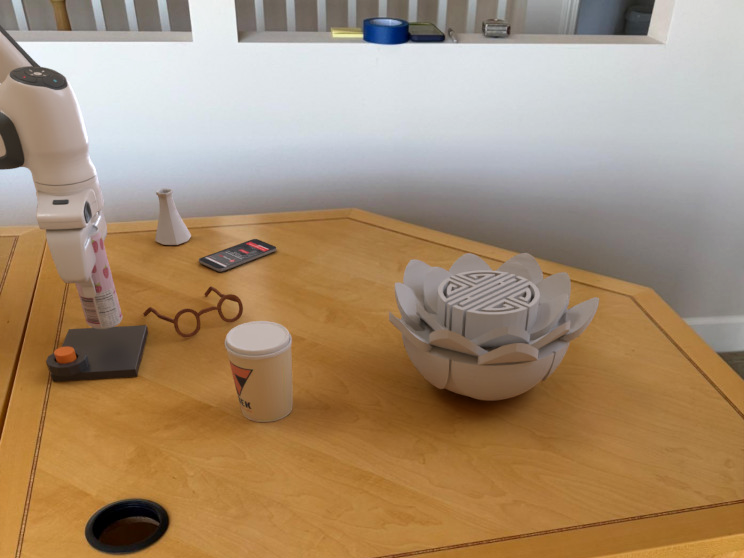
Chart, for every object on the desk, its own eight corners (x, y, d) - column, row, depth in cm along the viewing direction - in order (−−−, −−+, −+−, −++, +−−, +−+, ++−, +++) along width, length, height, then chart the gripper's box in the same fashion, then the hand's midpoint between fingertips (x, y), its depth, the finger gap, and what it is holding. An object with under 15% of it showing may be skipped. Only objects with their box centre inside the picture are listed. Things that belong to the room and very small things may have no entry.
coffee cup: (229, 399, 118) (216, 326, 110) (287, 386, 121) (280, 315, 112) (244, 431, 111) (233, 357, 103) (306, 417, 114) (299, 343, 106)
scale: (48, 385, 121) (42, 368, 119) (68, 336, 132) (63, 320, 130) (136, 380, 122) (132, 363, 120) (148, 332, 134) (144, 316, 132)
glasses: (179, 343, 131) (174, 315, 127) (143, 316, 138) (137, 289, 135) (245, 319, 137) (242, 293, 134) (207, 295, 144) (203, 269, 141)
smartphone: (277, 247, 159) (219, 269, 151) (278, 250, 160) (220, 273, 151) (255, 238, 163) (196, 259, 154) (255, 241, 163) (197, 262, 155)
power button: (55, 365, 120) (52, 356, 119) (58, 355, 122) (56, 346, 121) (74, 364, 120) (72, 355, 119) (78, 354, 123) (75, 345, 121)
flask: (149, 243, 163) (138, 194, 156) (169, 231, 168) (159, 183, 161) (178, 248, 161) (168, 198, 154) (197, 236, 166) (189, 187, 159)
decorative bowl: (469, 316, 139) (475, 232, 128) (609, 378, 123) (628, 288, 113) (343, 377, 123) (338, 286, 113) (484, 457, 107) (494, 360, 97)
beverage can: (122, 311, 129) (99, 221, 119) (124, 327, 125) (100, 234, 115) (86, 316, 128) (60, 225, 118) (87, 332, 124) (60, 239, 114)
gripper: (62, 174, 121) (86, 260, 130) (32, 222, 106) (61, 316, 115) (104, 172, 121) (124, 258, 131) (80, 220, 106) (105, 314, 116)
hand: (95, 286), depth 123 cm, fingers closed on beverage can, 5 cm apart
